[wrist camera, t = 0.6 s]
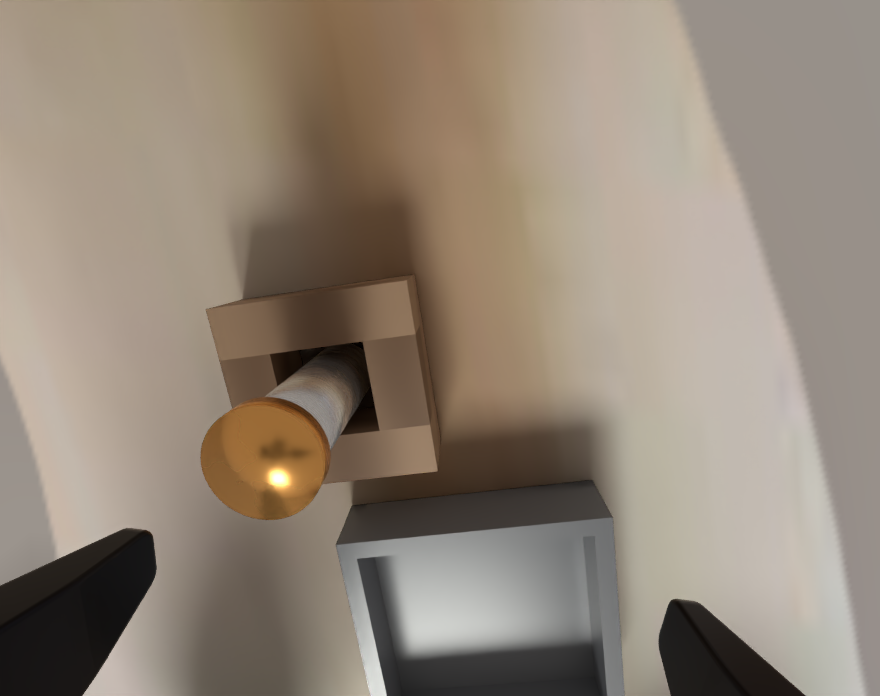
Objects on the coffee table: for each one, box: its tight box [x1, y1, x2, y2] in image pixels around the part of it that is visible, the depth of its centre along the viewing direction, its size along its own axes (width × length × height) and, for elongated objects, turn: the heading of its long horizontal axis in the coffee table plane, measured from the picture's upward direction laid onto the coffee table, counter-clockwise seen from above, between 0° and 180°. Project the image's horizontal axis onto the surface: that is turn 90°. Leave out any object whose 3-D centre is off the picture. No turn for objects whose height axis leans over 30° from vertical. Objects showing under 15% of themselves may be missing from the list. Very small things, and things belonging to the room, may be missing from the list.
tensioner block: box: [206, 274, 441, 484], centre depth 20 cm, size 8×8×3 cm
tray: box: [336, 480, 625, 696], centre depth 22 cm, size 12×12×3 cm
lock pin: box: [201, 343, 371, 520], centre depth 17 cm, size 3×3×9 cm
